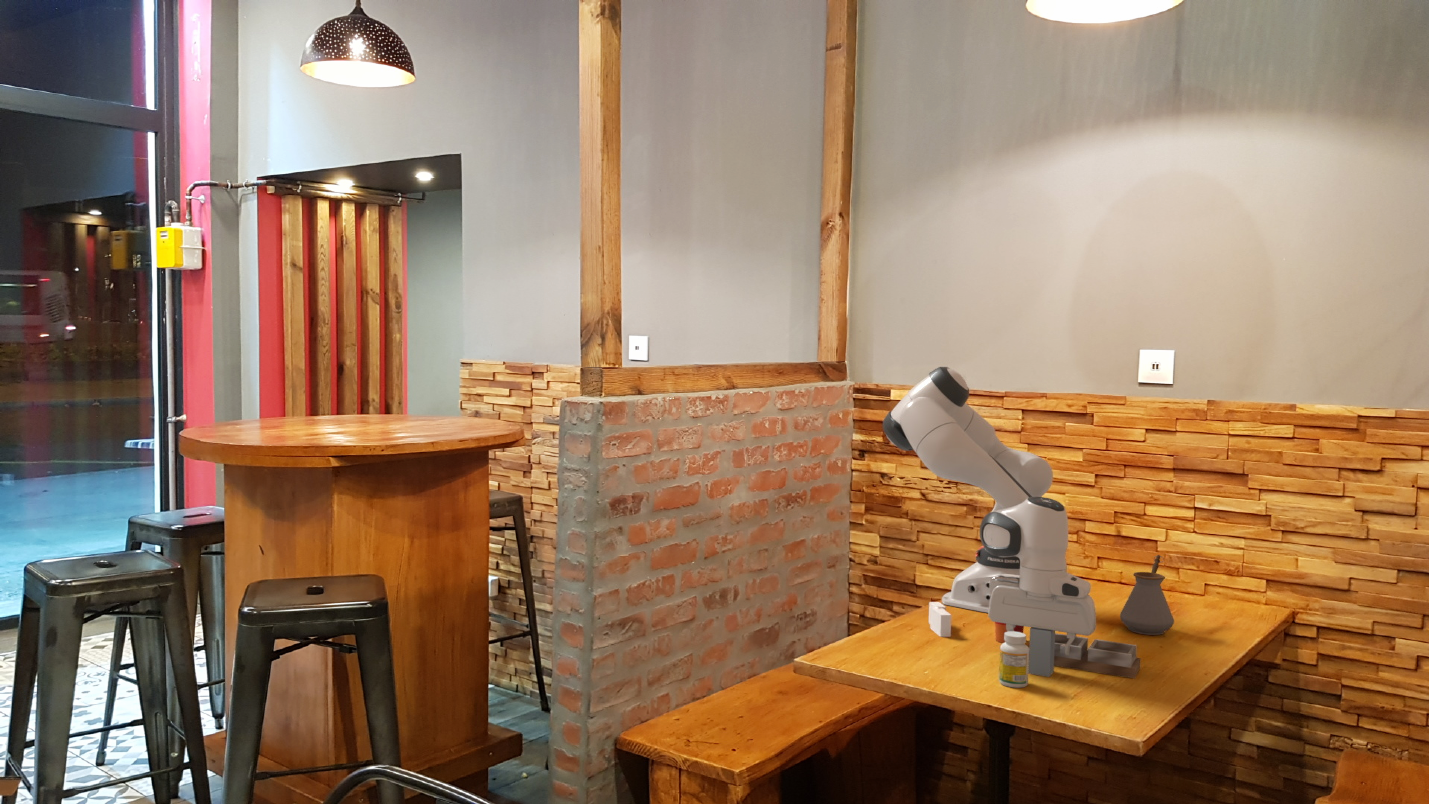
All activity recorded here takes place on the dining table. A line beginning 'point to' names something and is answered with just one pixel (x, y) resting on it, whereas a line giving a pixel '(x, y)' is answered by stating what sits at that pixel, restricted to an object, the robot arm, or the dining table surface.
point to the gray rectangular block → (1041, 652)
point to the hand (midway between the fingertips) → (1039, 650)
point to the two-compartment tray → (1098, 656)
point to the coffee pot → (1147, 604)
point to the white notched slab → (939, 619)
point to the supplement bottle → (1014, 660)
